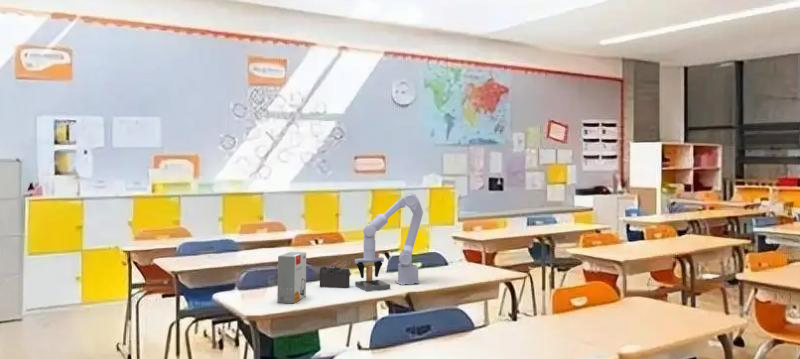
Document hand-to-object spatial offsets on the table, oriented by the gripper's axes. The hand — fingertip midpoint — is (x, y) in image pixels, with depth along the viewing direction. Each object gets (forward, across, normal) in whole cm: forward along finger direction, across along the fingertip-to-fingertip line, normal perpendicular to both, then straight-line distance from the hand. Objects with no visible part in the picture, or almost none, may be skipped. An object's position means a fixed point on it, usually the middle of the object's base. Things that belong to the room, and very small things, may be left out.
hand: (369, 277), depth 336 cm
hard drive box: (+3, +45, +22) cm, 50 cm away
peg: (+3, 0, 0) cm, 3 cm away
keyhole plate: (+3, +3, +12) cm, 12 cm away
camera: (+3, +17, 0) cm, 18 cm away
